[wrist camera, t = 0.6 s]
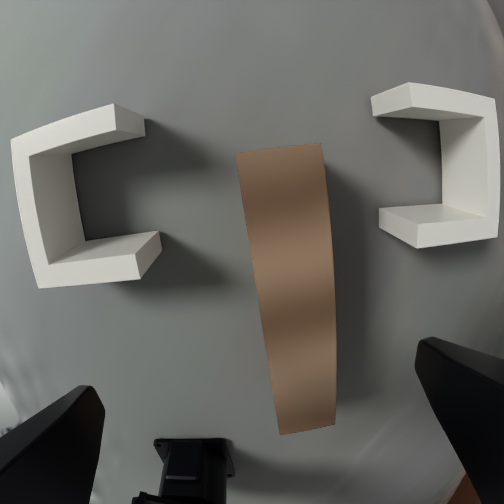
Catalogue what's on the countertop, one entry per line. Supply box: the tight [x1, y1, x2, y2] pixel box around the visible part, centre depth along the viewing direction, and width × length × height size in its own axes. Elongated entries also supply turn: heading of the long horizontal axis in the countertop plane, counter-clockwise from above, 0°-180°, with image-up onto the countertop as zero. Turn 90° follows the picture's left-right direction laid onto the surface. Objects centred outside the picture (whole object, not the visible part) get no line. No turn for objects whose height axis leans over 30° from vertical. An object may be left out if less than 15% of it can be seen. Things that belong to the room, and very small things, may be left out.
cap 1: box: [11, 104, 162, 288], centre depth 14 cm, size 8×6×4 cm
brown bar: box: [235, 143, 336, 435], centre depth 17 cm, size 16×4×5 cm, turn 9°
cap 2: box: [371, 82, 500, 248], centre depth 14 cm, size 8×6×4 cm
